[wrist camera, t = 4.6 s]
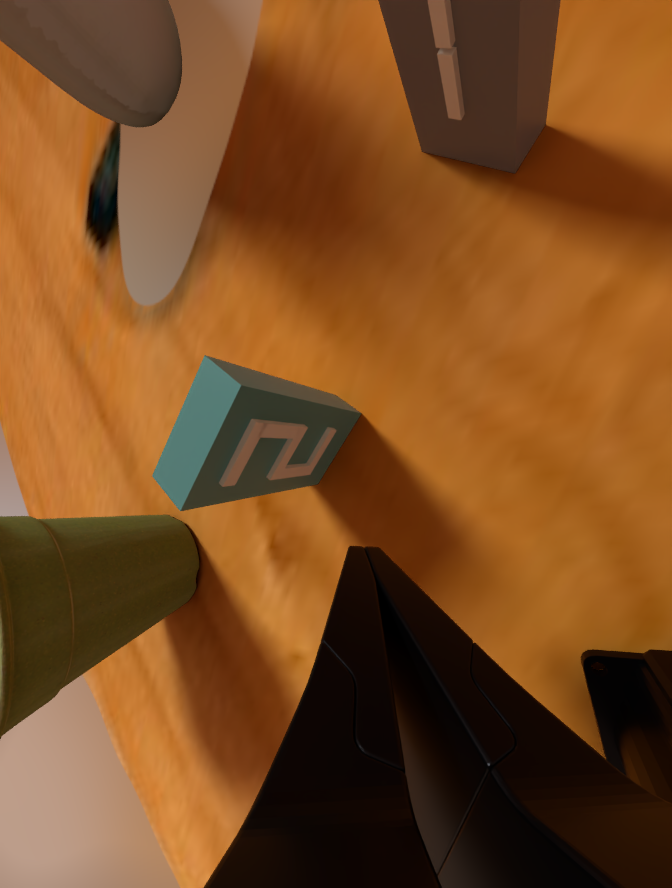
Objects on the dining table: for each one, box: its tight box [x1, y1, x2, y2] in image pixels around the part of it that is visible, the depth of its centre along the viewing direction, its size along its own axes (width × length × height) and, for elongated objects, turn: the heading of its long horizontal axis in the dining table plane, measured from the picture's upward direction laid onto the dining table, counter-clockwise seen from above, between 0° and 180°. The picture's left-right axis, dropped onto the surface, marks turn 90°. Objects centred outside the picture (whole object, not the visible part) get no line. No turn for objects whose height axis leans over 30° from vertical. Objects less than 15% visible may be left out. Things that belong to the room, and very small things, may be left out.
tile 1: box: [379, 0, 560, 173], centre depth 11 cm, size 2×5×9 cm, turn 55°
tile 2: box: [152, 355, 362, 511], centre depth 15 cm, size 2×5×9 cm, turn 145°
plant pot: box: [0, 515, 199, 739], centre depth 20 cm, size 12×12×11 cm
